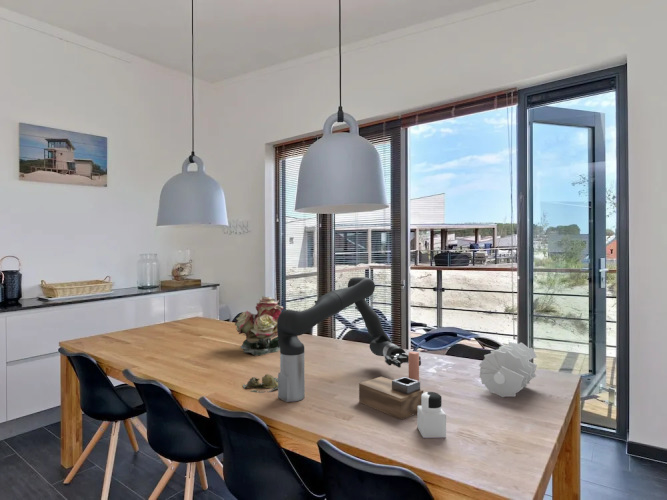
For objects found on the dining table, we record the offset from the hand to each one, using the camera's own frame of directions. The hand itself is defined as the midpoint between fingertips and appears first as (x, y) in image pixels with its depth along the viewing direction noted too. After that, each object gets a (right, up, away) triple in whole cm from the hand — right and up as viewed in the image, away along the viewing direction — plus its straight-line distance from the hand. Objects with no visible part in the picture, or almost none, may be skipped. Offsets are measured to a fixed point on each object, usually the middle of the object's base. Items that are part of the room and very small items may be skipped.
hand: (409, 364), depth 159 cm
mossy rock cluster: (-59, -11, +8) cm, 61 cm away
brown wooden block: (-10, -11, -15) cm, 21 cm away
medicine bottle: (0, -11, -36) cm, 38 cm away
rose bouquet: (-70, -11, +66) cm, 97 cm away
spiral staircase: (+40, -11, +1) cm, 41 cm away
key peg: (+1, -11, -3) cm, 11 cm away
